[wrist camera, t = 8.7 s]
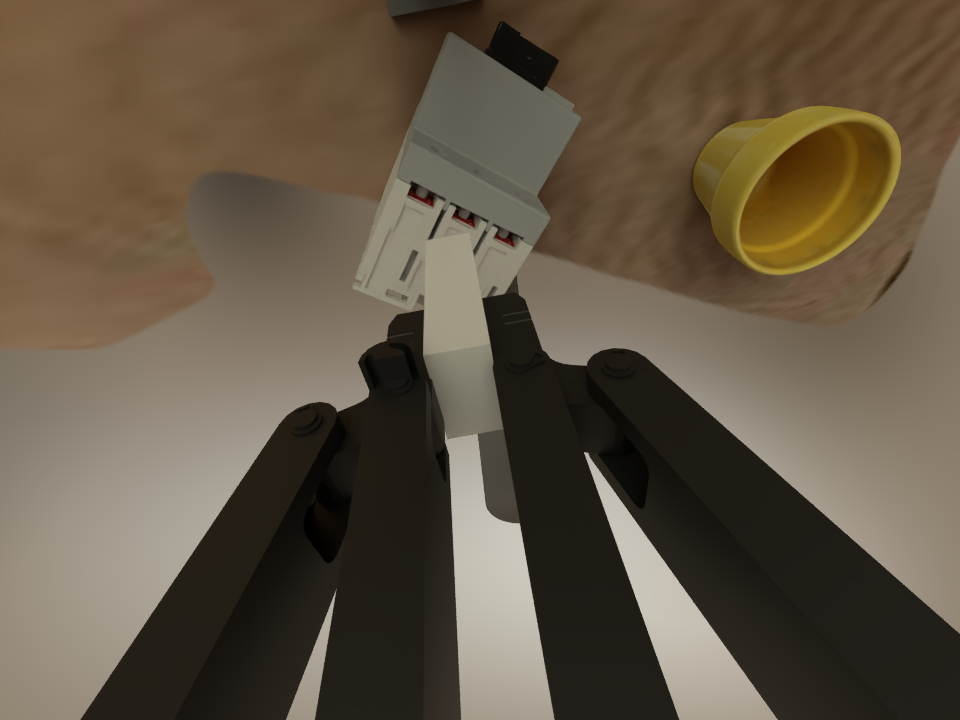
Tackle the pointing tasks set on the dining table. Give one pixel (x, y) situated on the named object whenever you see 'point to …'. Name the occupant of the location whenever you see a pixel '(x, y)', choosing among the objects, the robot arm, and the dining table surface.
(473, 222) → the circuit breaker
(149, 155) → the dining table surface
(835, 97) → the dining table surface
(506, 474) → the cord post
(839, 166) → the plant pot
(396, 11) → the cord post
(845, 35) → the dining table surface
